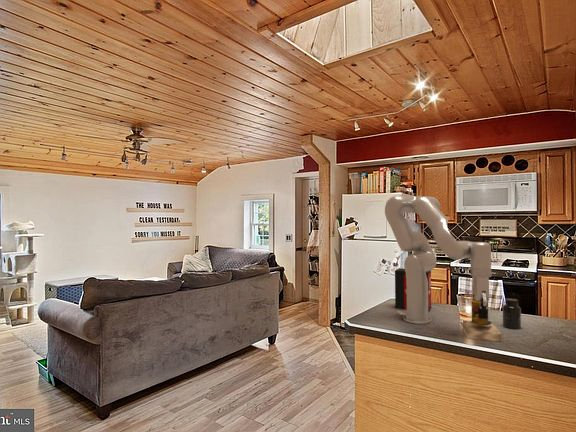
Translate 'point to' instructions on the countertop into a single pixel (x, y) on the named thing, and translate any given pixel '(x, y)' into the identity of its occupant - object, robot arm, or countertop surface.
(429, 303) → the cleaning product box
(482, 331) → the base slab
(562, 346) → the countertop surface
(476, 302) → the condiment
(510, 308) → the supplement bottle
